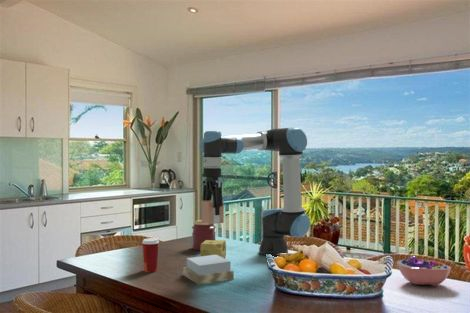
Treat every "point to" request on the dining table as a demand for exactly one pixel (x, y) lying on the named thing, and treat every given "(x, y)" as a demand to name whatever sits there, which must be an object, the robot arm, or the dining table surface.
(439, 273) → the cell model
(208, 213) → the terracotta block
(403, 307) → the dining table surface
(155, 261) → the paper cup
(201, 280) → the tower base
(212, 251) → the cheese
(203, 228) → the canister
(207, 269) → the tower top
